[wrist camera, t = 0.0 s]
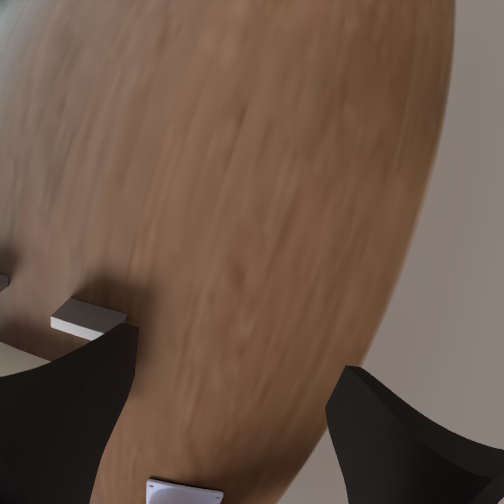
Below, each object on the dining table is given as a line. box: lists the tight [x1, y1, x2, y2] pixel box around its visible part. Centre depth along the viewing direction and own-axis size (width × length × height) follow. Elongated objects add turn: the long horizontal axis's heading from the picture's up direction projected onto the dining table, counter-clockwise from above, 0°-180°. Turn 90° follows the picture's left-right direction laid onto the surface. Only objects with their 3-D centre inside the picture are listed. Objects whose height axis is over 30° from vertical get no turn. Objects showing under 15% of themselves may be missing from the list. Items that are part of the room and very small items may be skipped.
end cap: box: [51, 298, 128, 341], centre depth 19 cm, size 6×4×3 cm
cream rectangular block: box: [0, 342, 51, 377], centre depth 20 cm, size 4×12×4 cm, turn 78°
